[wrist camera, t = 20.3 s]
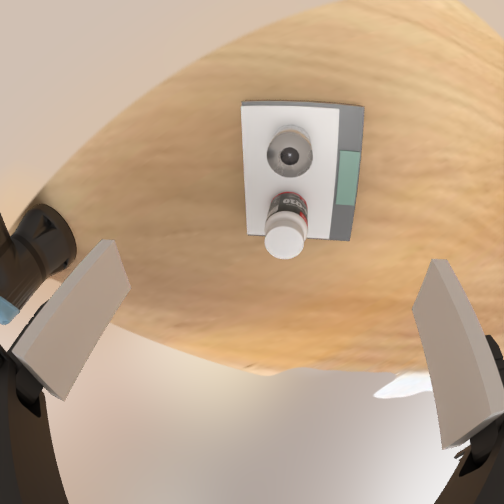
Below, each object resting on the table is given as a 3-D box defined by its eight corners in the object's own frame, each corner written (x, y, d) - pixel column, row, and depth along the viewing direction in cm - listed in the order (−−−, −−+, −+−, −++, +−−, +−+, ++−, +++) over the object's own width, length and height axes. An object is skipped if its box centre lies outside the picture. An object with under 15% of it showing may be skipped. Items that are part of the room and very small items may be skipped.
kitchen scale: (250, 227, 41) (247, 237, 39) (244, 100, 31) (240, 102, 29) (347, 233, 39) (350, 243, 37) (360, 105, 29) (365, 107, 27)
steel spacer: (272, 123, 30) (266, 133, 25) (311, 125, 29) (313, 135, 24) (272, 159, 32) (266, 176, 27) (310, 161, 32) (311, 179, 27)
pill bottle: (315, 204, 35) (318, 240, 28) (292, 230, 37) (289, 269, 30) (284, 182, 34) (279, 214, 27) (262, 210, 36) (252, 246, 30)
